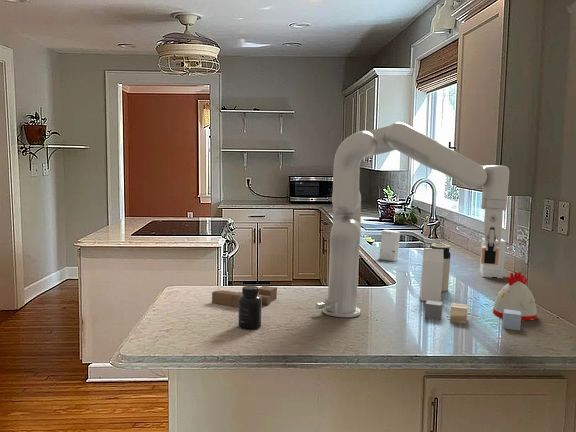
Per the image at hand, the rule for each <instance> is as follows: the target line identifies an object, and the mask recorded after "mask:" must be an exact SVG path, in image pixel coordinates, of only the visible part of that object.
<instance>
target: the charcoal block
mask: <svg viewBox="0 0 576 432" xmlns="http://www.w3.org/2000/svg"><path fill="white" fill-rule="evenodd" d="M442 314H443V301H441V302H438V301H430V300H427V301H425V308H424V319H427V320H436V321H441V319H442V317H443V316H442Z"/></svg>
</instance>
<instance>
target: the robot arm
mask: <svg viewBox="0 0 576 432" xmlns="http://www.w3.org/2000/svg"><path fill="white" fill-rule="evenodd" d="M393 151H398V152H400V153H401V154H403V155H404V156H407V157H409V159H412V160H414V161H416V162H417V163H420V164H421V165H423V166H425V167H427V168H429V169H430V170H434V171H438V172H439V173H442V174H444V175H446V176H448V177H450V178H452V179H454V180H455V181H457V182H459V184H461V186H463V187H465V188H469V189H479V188H481V187H482V192H481V204H480V205H481V206H480V209H481V210H484V216H483V217H484V221H483V222H484V223H483V236H484V237H483V238H484V239H485V241H486V250H485V257H484V263H489V264H495V256H496V251H495V247H496V239H497V240H498V242H500V241H501V239H502V232H503V231H502V230H503V216H504V215H503V214H504V213H503V211H507V209H508V207H507V206H508V195H509V193H508V192H509V183H510V182H509V181H510V169H509V167H508V166H506V165H497V164H496V165H495V164H494V165H493V164H491V165H481V164H480V163H478V162H476V161H474V160H473V159H470V158H468V157H467V156H464V155H463V154H461V153H459V152H457V151H456V150H453V149H451V148H449V147H448V146H447V145H445V144H443V143H442V142H439V141H437V140H436V139H435V138H432V137H430V136H429V135H426V134H424V133H423V132H422V131H419V130H417V129H416V128H414V127H412V126H410V125H408V124H406V123H404V122H401V121H397V122H393V123H391V124H389V125H386V126H382V127H379V128H374V129H370V130H360V131H357V132H353V134H350V135H349V136H347V137H346V138H345V139H344V140H343V141H342V142H341V143H340V144H339V146H338V148H337V149H336V151H335V155H334V159H333V175H332V193H331V194H332V196H331V202H332V203H331V204H332V226H331V229H330V234H329V235H330V236H329V264H328V265H329V266H328V267H329V269H328V271H329V272H328V284H327V285H328V287H327V288H328V290H327V298H325V299H324V301H323V302H317V303H315V309H316V310H321V309H322V312H323V313H324V314H325V315H327V316H331V317H336V318H355V317H359V316H360V315H361V313H362V310H361V309H360V308H359V307H357V302H358V301H357V300H358V299H357V298H358V282H359V281H358V280H359V264H360V263H359V261H360V260H359V259H360V247H361V246H360V245H361V244H360V243H361V231H362V230H361V229H362V227H361V226H362V225H361V224H362V223H361V221H362V216H361V215H362V194H361V191H360V175H361V174H360V172H361V162H362V161H363V159H364V158H369V157H373V156H379V155H381V154H385V153H390V152H393Z"/></svg>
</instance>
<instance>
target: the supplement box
mask: <svg viewBox="0 0 576 432" xmlns="http://www.w3.org/2000/svg"><path fill="white" fill-rule="evenodd" d="M506 245H507V241H506V240H504V239H502V238H501V241H500V242H498V240H497V239H496V247H499V258H498V265H492V264H481V258H480V260H479V261H480V262H479V273H478V274H480V276H481V277H483V278H492V277H497V278H496V279H504V272H505V260H506V247H507V246H506ZM482 246H486V241H485V239H484V237H481V246H480V247H481V249H480V250H481V251H480V257H481V256H482Z"/></svg>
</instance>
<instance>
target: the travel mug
mask: <svg viewBox="0 0 576 432" xmlns="http://www.w3.org/2000/svg"><path fill="white" fill-rule="evenodd" d="M430 246H431V249H443V250H444V251H443V275H442V289H441V293H442V292H447V291H449V281H450V268H451V267H450V265H451V252H450V248H451V245H449V244H445V243H431V245H430Z"/></svg>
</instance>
